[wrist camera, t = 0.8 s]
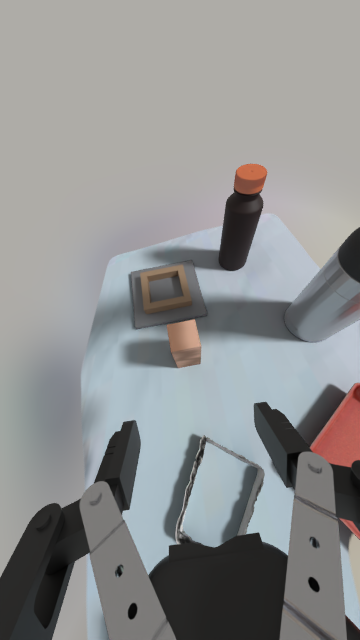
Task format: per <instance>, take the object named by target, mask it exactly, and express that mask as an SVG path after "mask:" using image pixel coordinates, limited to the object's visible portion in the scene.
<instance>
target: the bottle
mask: <svg viewBox="0 0 360 640" xmlns="http://www.w3.org/2000/svg"><path fill="white" fill-rule="evenodd" d="M266 175H267V170H266V169H265V168H264V167H263V166H261V165H258V164H246V165H243V166H241V167H239V168H238V169H237V170H236V175H235V182H234V193H233V194H232V195H231V196H230V197H229V198H228V199H227V202H226V208H225V215H224V223H223V230H222V238H221V245H220V253H219V263H220V265H221V266H222V267H223V268H225V269H227V270H238V269H240V268H242V267H243V266H244V264H245V263H246V259H247V256H248V253H249V250H250V247H251V244H252V240H253V237H254V234H255V231H256V228H257V224H258V221H259V218H260V215H261V211H262V208H263V200H262V198H261V196H260V194H259V193H261V191H262V188H263V186H264V182H265V179H266Z"/></svg>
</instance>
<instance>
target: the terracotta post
mask: <svg viewBox="0 0 360 640" xmlns="http://www.w3.org/2000/svg"><path fill="white" fill-rule="evenodd" d="M167 330H168V336H169V342H170V349H171V353H172V355H173V358H174V360H175V362H176V364H177V366H178V368H182V367H187V366H192V365H197V364H200V363H201V343H200V339H199V335H198V331H197V327H196V322H195V319H194V320H189V321H184V322H179V323H174V324H169V325H167Z"/></svg>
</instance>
